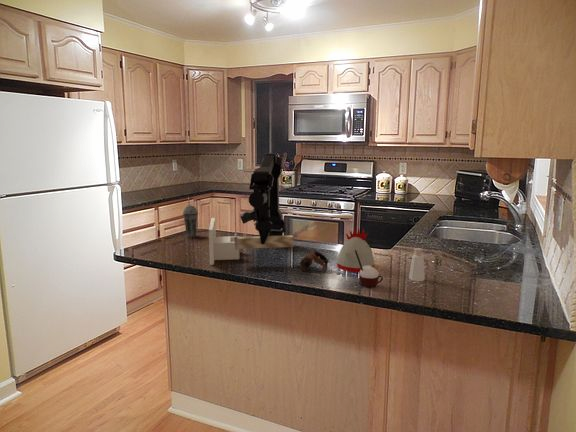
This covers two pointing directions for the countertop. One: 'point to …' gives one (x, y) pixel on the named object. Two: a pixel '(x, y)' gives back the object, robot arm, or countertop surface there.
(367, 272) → the cocoa
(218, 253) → the white angular piece
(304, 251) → the countertop surface
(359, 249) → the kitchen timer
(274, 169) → the robot arm
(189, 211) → the beverage cup
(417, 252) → the pepper shaker
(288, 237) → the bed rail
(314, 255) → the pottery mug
